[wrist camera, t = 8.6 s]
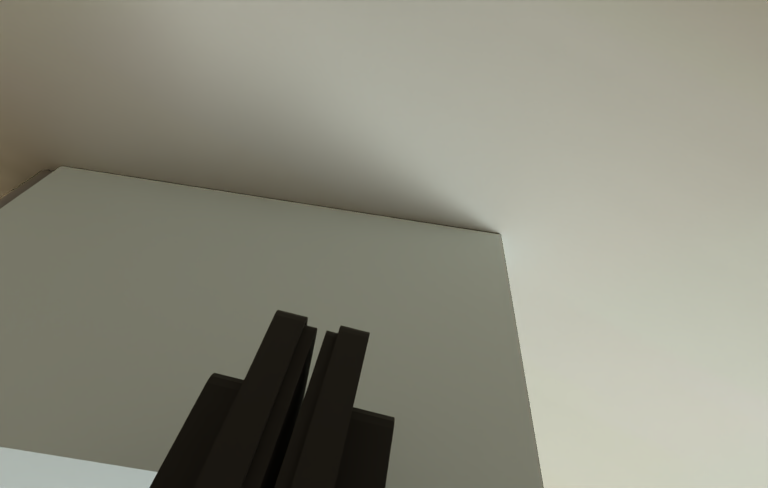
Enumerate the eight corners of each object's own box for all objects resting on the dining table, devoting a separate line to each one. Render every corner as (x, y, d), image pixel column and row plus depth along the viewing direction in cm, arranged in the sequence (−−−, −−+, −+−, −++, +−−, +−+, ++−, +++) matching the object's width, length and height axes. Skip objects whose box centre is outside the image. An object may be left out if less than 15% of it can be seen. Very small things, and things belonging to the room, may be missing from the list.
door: (39, 199, 23) (-326, 472, 12) (33, 161, 22) (-362, 417, 11) (491, 269, 23) (535, 612, 12) (501, 234, 22) (556, 564, 11)
